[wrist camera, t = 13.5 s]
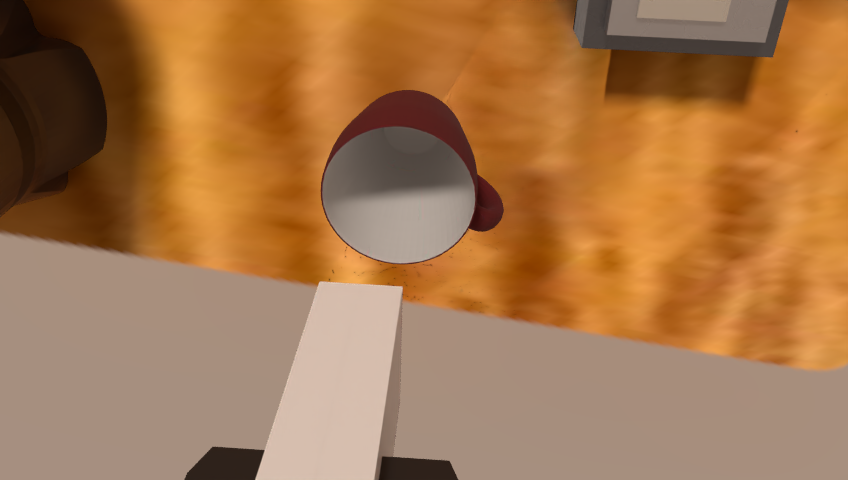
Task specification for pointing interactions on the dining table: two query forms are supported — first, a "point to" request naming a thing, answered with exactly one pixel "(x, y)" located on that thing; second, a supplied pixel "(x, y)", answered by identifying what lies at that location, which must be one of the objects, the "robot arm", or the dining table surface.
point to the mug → (406, 181)
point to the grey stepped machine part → (681, 25)
